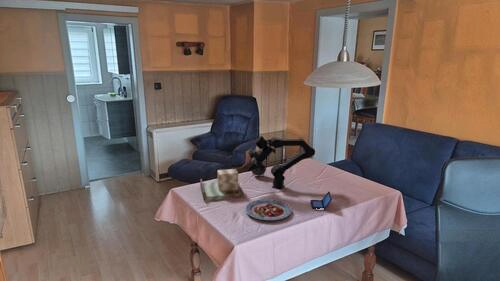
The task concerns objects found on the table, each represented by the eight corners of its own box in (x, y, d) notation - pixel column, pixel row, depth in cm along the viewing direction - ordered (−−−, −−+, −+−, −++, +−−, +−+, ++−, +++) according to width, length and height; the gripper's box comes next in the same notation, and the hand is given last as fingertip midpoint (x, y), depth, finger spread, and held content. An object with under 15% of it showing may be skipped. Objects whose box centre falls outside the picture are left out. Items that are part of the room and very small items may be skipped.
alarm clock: (266, 175, 237) (266, 154, 233) (265, 178, 232) (266, 156, 228) (251, 174, 238) (251, 153, 234) (250, 177, 233) (250, 155, 229)
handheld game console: (310, 201, 196) (311, 189, 194) (328, 202, 195) (329, 190, 193) (311, 210, 184) (312, 198, 182) (331, 211, 183) (332, 199, 181)
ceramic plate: (272, 198, 199) (273, 194, 198) (300, 215, 178) (301, 210, 177) (236, 208, 185) (236, 203, 184) (262, 228, 164) (262, 223, 163)
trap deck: (237, 183, 220) (237, 176, 219) (244, 197, 200) (244, 188, 198) (200, 186, 214) (200, 179, 213) (203, 200, 194) (203, 192, 192)
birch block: (235, 184, 212) (235, 168, 210) (238, 189, 205) (238, 173, 202) (217, 186, 210) (217, 170, 207) (219, 190, 202) (219, 174, 199)
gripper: (252, 141, 213) (236, 158, 214) (259, 149, 196) (242, 167, 196) (263, 152, 217) (247, 169, 218) (271, 161, 200) (254, 179, 200)
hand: (247, 170), depth 208 cm, fingers closed
